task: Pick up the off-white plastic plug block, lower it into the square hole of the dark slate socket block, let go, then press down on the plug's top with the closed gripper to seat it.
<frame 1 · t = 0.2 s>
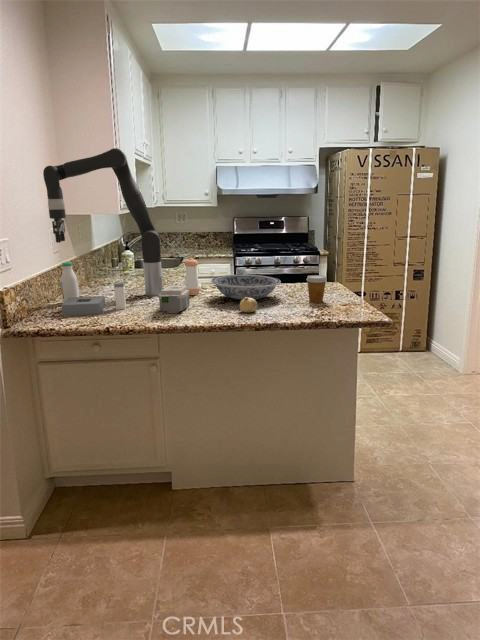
hand: (60, 241, 230), 29 cm above the worktop, fingers open, 8 cm apart
electrical outlet: (175, 309, 210), on the worktop
ceramic bowl: (246, 299, 228), on the worktop
pepper shaker: (192, 294, 241), on the worktop
socket block: (84, 311, 209), on the worktop
milk bottle: (71, 303, 227), on the worktop
plug: (121, 308, 213), on the worktop
onion: (248, 312, 202), on the worktop
disposable coffee cup: (315, 301, 220), on the worktop
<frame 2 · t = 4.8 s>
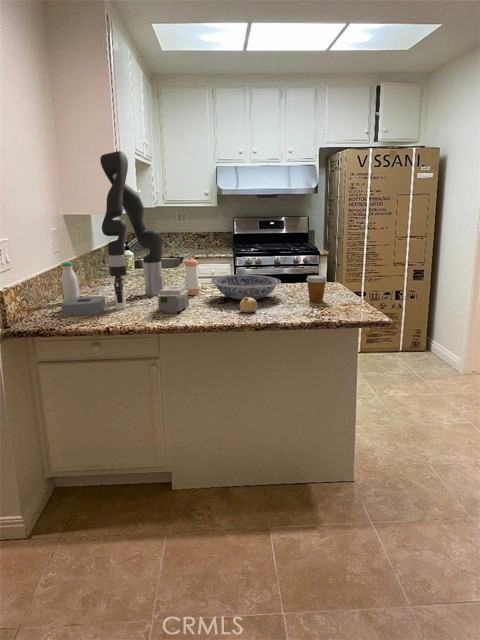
hand: (120, 301, 212), 3 cm above the worktop, fingers closed on plug, 4 cm apart
plug: (121, 308, 213), on the worktop, touching gripper
everything else where it was.
when the fingers open (6 cm above the worktop, at t = 11.6 s): plug drops 3 cm, resting in socket block.
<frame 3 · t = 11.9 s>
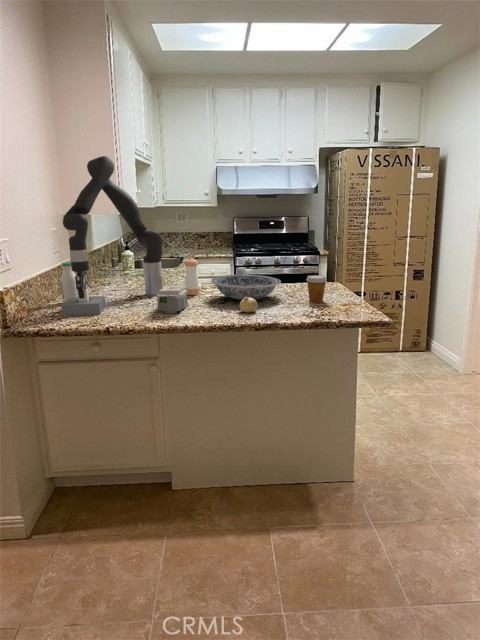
hand: (83, 296, 207), 7 cm above the worktop, fingers open, 7 cm apart
plug: (84, 311, 209), resting in socket block
everything else where it was.
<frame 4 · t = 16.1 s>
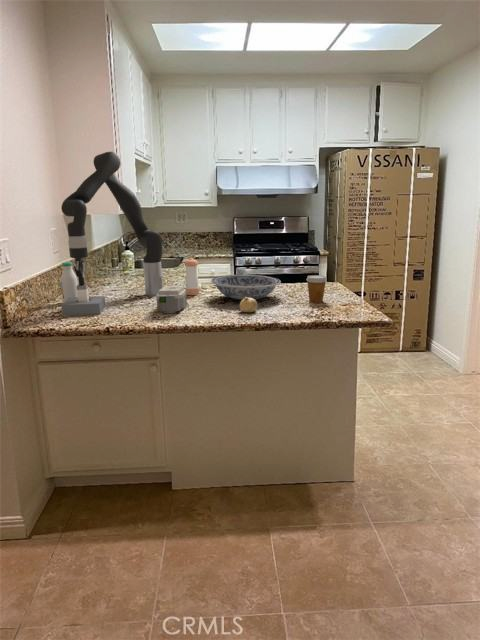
hand: (82, 285, 206), 12 cm above the worktop, fingers closed
plug: (84, 311, 209), resting in socket block, touching gripper
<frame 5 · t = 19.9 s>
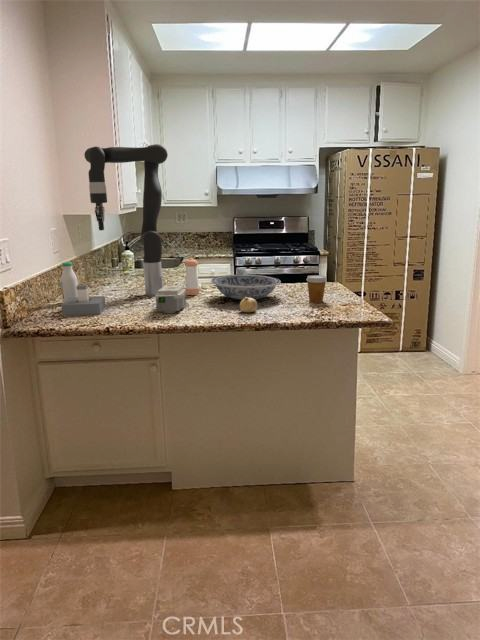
hand: (101, 230, 218), 35 cm above the worktop, fingers closed
plug: (84, 311, 209), resting in socket block
at the end: plug 0.1 cm off-centre on the socket block, point 0.0 cm above the socket block's base; plug tilted 0°; the gripper is holding nothing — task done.
